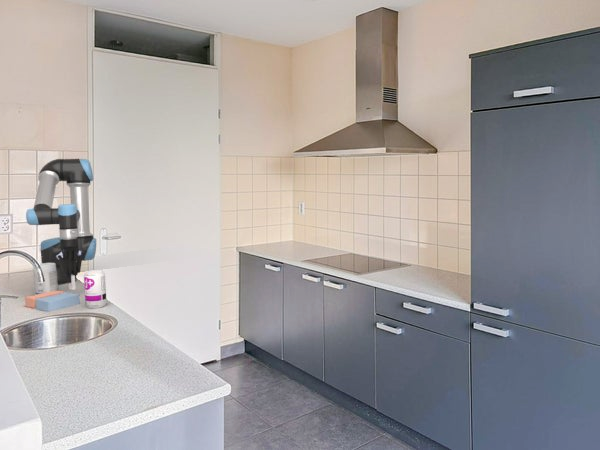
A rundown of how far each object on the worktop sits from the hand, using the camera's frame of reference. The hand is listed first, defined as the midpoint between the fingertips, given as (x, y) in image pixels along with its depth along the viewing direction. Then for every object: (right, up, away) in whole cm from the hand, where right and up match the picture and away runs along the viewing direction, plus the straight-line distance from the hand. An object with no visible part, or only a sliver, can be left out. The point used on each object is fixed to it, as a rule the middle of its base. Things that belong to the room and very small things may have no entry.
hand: (72, 289), depth 221 cm
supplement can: (+18, -5, -16) cm, 25 cm away
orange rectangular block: (-7, -5, -10) cm, 13 cm away
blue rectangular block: (+1, -5, -15) cm, 16 cm away
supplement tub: (-14, -4, +5) cm, 15 cm away
